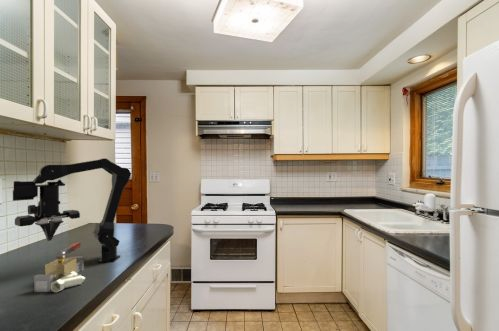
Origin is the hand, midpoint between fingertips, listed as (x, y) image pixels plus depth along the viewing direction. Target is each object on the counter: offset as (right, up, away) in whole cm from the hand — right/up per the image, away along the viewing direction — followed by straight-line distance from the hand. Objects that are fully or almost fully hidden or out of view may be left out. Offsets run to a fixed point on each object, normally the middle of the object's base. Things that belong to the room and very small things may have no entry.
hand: (49, 240), depth 99 cm
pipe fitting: (+15, -13, -11) cm, 22 cm away
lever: (+8, -4, -1) cm, 9 cm away
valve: (+8, -12, -5) cm, 16 cm away
